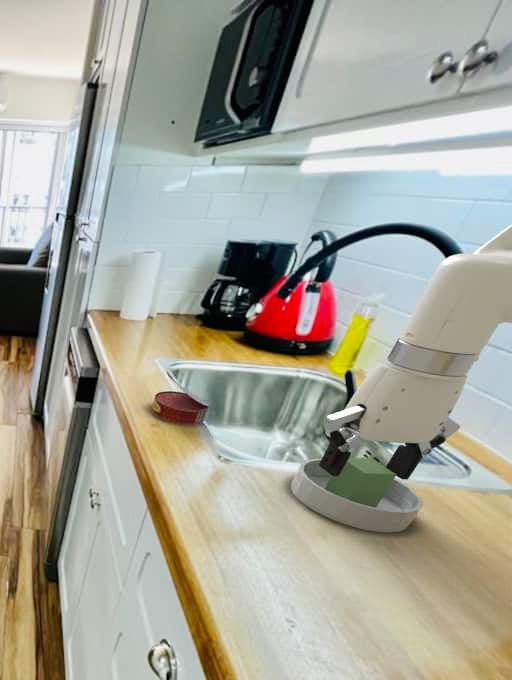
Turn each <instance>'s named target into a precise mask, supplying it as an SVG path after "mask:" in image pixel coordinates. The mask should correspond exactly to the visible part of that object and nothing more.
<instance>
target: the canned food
mask: <svg viewBox="0 0 512 680" xmlns="http://www.w3.org/2000/svg"><path fill="white" fill-rule="evenodd" d="M165 372H166V374H167V376H168V377H169V378H170V380H172V381H173V382H174V383H175V385H177V386H178V387H179V388H180V390H182V391H183V392H182V391H172V390H171V391H170V390H168V391H166V390H164V391H160V392H157V393H156V394H155V395H154V399H153V402H152V404H151V405H152V406H151V408H150V409H151V412H152V414H153V415H154V416H156V417H157V418H159V419H161V420H164V421H167V422H169V423H173V424H174V423H175V424H178V425H184V426H193V425H195V426H196V425H199V424H202V423H204V421H205V418H206V415H207V412H208V410H209V408H210V404H209V403H208V402H207V401H206V400H205V399H203V398H201V397H200V396H198V395H197V394H195V393H193V392H192V391H190V390H189V389H187V388H185V387H183V386H182V385H180V384H179V383H178V382H177V381H176V380H175V379H174V378H173V376H172V375H171V374H170V373H169V371H168V370H165Z"/></svg>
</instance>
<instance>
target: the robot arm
mask: <svg viewBox="0 0 512 680" xmlns="http://www.w3.org/2000/svg"><path fill="white" fill-rule="evenodd" d="M503 323H508V324H512V224H510V225H509V226H507V227H506V228H505V229H503V230H502V231H500V232H499V233H497V234H496V235H495V236H494V237H492V238H491V239H490V240H488V241H486V242H485V243H484V244H483V245H481V246H480V247H479V248H477V249H476V250H475V251H474V252H473V253H456V254H452V255H450V256H448V257H446V258H444V259H443V260H442V261H441V262H440V263H439V264H438V265H437V267H436V269H435V270H434V273H433V274H432V277H430V280H429V281H428V284H427V286H426V287H425V289H424V291H423V292H422V295H421V296H420V298H419V300H418V301H417V304H416V305H415V308H413V311H412V313H411V315H410V316H409V318H408V320H407V322H406V324H405V325H404V327H403V329H402V331H401V333H400V335H399V336H398V338H397V340H396V342H395V344H394V345H393V347H392V349H391V350H390V353H389V354H388V356H387V358H386V360H385V361H384V362H379V363H377V364H376V365H375V366H374V367H373V368H372V370H371V371H370V372H369V373H368V375H366V377H365V378H364V379H363V380H362V382H361V383H360V385H359V386H358V388H356V390H355V392H354V394H353V395H352V397H351V398H350V400H349V402H348V403H347V404H346V406H345V408H344V410H341V411H337V412H335V413H331V414H329V415H326V416H325V417H324V419H323V427H324V430H323V434H324V436H325V438H326V442H327V443H329V444H328V446H327V448H326V449H325V452H324V454H323V455H322V458H320V459H321V461H320V463H319V466H320V467H321V468H322V469H324V470H325V471H326V472H328V473H329V474H330V475H332V476H339V475H340V473H341V471H342V470H343V468H344V466H345V464H346V463H347V461H348V459H349V458H351V457H352V452H351V451H350V450H351V449H353V448H355V447H356V446H358V445H359V444H360V443H363V442H364V441H366V442H378V443H397V444H399V443H400V444H399V446H398V447H397V448H396V449H395V451H394V452H393V454H392V456H391V458H390V459H389V461H388V462H387V464H386V465H385V468H387V469H389V470H390V471H392V472H393V473H395V474H396V476H395V477H397V478H398V479H400V480H409V479H410V477H411V476H412V475H413V473H414V471H415V469H416V468H417V467H418V466H419V464H420V462H421V461H422V459H423V457H426V456H428V455H430V454H432V453H433V449H434V448H436V447H439V446H441V445H442V444H444V443H445V442H446V439H448V438H449V437H451V436H452V435H453V434H455V433H456V432H457V431H459V430H460V429H461V426H460V424H458V422H455V420H453V419H451V418H450V415H451V414H452V412H453V410H454V409H455V407H456V404H457V403H458V401H459V398H460V396H461V394H462V391H463V389H464V387H465V384H466V381H467V378H468V376H467V375H468V373H469V372H470V370H471V369H472V367H473V365H474V364H475V362H477V361H478V360H479V359H480V355H481V353H482V352H483V350H484V349H485V347H486V346H487V344H488V342H489V341H490V339H491V337H492V336H493V334H494V333H495V332H496V330H497V328H498V327H499V326H500V325H501V324H503ZM349 435H352V436H351V437H349ZM346 437H349V438H347V439H346Z"/></svg>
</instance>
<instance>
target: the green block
mask: <svg viewBox="0 0 512 680" xmlns="http://www.w3.org/2000/svg"><path fill="white" fill-rule="evenodd" d="M396 477H397V476H396V474H395V473H393V472H392V471H390V470H389V469H387V468H386V466H385V465H383V464H381V463H379V462H377V461H376V460H375V459H373V458H366V457H365V458H364V457H362V458H361V457H349V459H348V461H347V463H346V464H345V466H344V468H343V470H342V471H341V473H340V475H339V476H331V478H330V480H329V482H328V483H327V485H326V487H325V490H327V491H329V492H331V493H332V494H335V495H337V496H340V497H342V498H345V499H347V500H350V501H353V502H356V503H359V504H363V505H366V506H370V507H375V508H376V507H377V505H378V504H379V502H380V500H381V499H382V497H383V496H384V494H385V492H386V491H387V489H388V488H389V486H390V484H391V483H392V481H393V480H394V478H395V479H396Z"/></svg>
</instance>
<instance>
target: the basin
mask: <svg viewBox="0 0 512 680" xmlns="http://www.w3.org/2000/svg"><path fill="white" fill-rule="evenodd" d="M321 459H322V458H314V459H313V458H312V459H307V460H305V461H303V462H302V463H300V465H299V467H298V469H297V470H296V472H295V475H294V477H293V480H292V482H291V485H290V489H291V492H292V494H293V495H294V497H295V498H297V500H298V501H299V502H301V503H302V504H304V506H306V507H308V508H309V509H311V510H312V511H314V512H316V513H318V514H319V515H322V516H323V517H326V518H327V519H328V518H329V519H330V520H333V521H334V522H338V523H341V524H344V525H346V526H349V527H352V528H356V529H362V530H365V531H370V532H376V533H398V532H402V531H404V530H406V529H408V527H409V526H410V525H411V524H412V522H413V521H414V519H415V518H416V517H417V515H418V514H419V513H420V511H421V509H422V508H423V506H424V502H423V499H422V497H421V495H420V494H419V493H418V492H416V490H414V489H413V488H412V487H411V486H409V485H407V483H404V482H403V481H401V480H399V479H398V478H396V477H395V478H394V480H393V481H392V483H391V484H390V486H389V488H388V489H387V491H386V492H385V494H384V496H383V497H382V499H381V500H380V502H379V504H378V505H377V507H376V508H375V507H370V506H366V505H363V504H359V503H356V502H353V501H350V500H347V499H345V498H342V497H340V496H337V495H335V494H332V493H331V492H329V491H327V490H325V487H326V485H327V483H328V482H329V480H330V478H331V476H332V475H330V474H329V473H328V472H326V471H325V470H324V469H322V468H321V467H320V466H319V463H320V461H321Z"/></svg>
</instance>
